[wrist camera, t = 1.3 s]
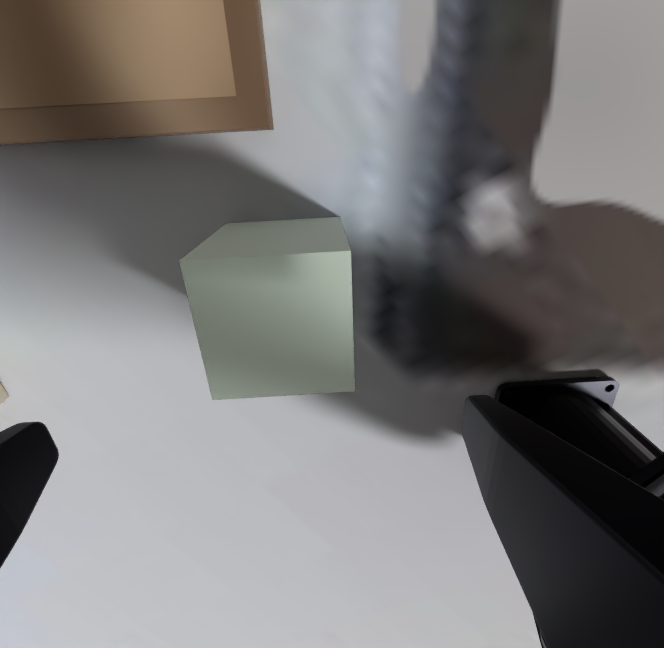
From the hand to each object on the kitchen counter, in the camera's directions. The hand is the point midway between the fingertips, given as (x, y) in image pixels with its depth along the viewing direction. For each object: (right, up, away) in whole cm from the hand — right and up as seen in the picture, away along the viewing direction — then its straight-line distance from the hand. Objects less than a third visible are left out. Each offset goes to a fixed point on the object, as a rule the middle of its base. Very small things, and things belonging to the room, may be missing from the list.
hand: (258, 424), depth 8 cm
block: (0, +5, +9) cm, 10 cm away
